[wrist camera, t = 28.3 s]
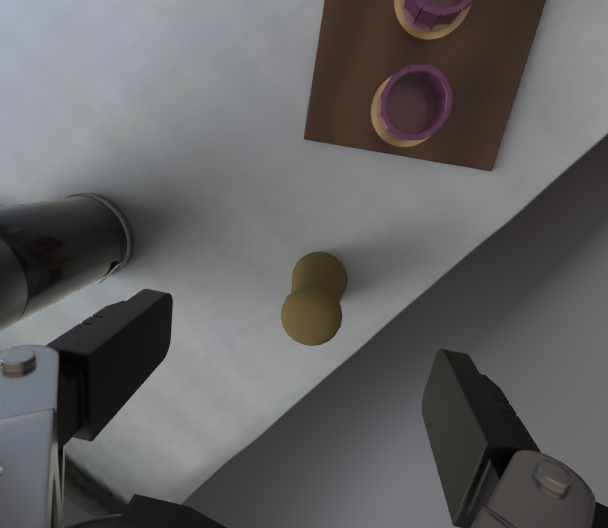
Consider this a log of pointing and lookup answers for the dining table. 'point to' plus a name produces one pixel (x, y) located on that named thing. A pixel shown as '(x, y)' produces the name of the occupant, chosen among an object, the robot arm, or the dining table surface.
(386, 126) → the plum dish
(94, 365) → the robot arm
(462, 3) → the plum dish
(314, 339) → the yellow pawn figure
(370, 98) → the metal board
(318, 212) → the dining table surface
